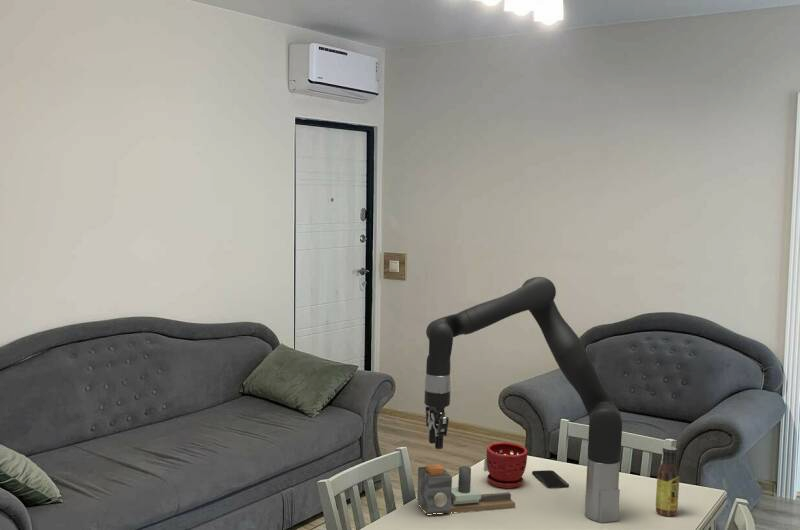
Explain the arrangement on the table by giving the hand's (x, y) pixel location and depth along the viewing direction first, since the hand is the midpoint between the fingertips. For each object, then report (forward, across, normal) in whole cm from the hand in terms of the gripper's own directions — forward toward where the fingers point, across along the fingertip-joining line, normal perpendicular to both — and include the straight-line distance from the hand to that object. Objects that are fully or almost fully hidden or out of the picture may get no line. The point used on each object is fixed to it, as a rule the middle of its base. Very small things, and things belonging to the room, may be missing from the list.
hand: (435, 445), depth 241 cm
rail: (+19, 0, +10) cm, 22 cm away
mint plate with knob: (+17, 0, +9) cm, 20 cm away
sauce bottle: (+20, +18, +68) cm, 73 cm away
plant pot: (+20, -16, +30) cm, 40 cm away
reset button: (+9, 0, 0) cm, 9 cm away
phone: (+20, -16, +46) cm, 53 cm away
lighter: (+20, -29, +32) cm, 48 cm away
